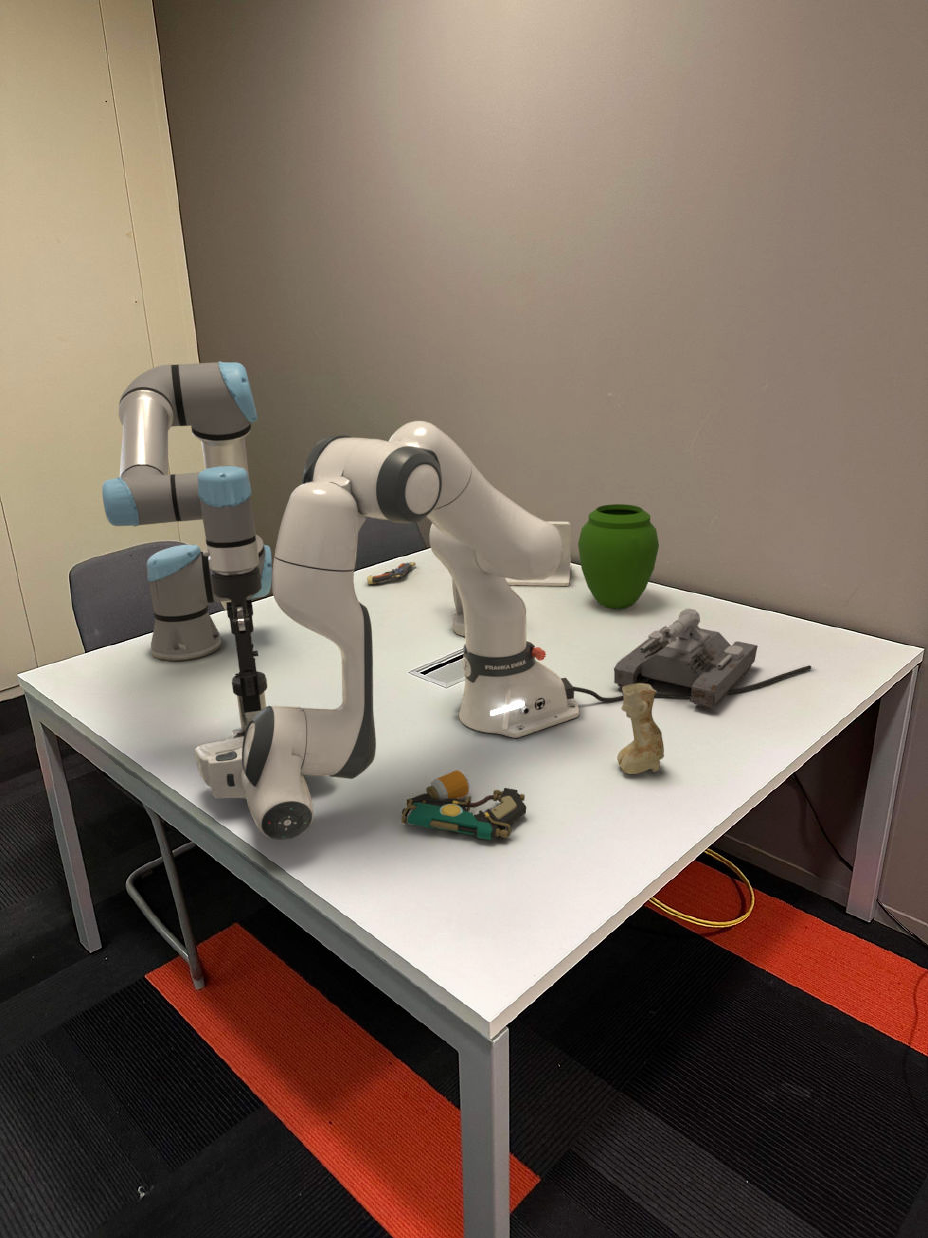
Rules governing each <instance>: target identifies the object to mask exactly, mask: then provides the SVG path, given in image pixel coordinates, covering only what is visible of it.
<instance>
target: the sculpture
mask: <svg viewBox="0 0 928 1238" xmlns="http://www.w3.org/2000/svg"><path fill="white" fill-rule="evenodd" d="M621 690H622V693H623V695H624V700H622V701H623V702H622V705H621V709H620V710H621V711H623V712H625V714H626V717H627V718H628V719H630V722H631V727H632V734H633V740H632V741H631V742H630V743H628V744H627V745H626V746H624V747H623V748H622V749H620V750H619V751H618V753H617V757H616V760H617V764H618V766H620V769H621V771H622V772H624V773H626V774H627V775H638V774H641V773H644V772H646V771H648V770H651V771H652V772H654V773H656V772H659V771H660V769H661V762H660V761H661V760H663V758H664V757H665V754H664V753H665V747H664V746H665V745H664V741H663V734H662V730H661V728H660V727H659V726H658V724H657V723H656V722H655V720H654V718H653V717H654V716H653V706H654V702H655V697H656V696H655V694H656V692H657V690H656V689H654V688H653V687H652V685H651V684H650V683H637V684H630V685H626V686H623V687H621Z"/></svg>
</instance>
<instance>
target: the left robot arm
mask: <svg viewBox="0 0 928 1238" xmlns="http://www.w3.org/2000/svg"><path fill="white" fill-rule="evenodd" d="M255 405H256V404H255V401H254V397H253V392H252V388H251V384H250V380H249V377H248V372H247V369H246V367H245V366H244V365H243V364H242V363H240V362H234V361H233V362H232V361H231V362H228V361H227V362H226V361H225V362H223V361H217V362H199V363H198V362H197V363H179V364H162V365H158V366H155V367H153V368H150V369H148V370H146V371H144V372H142V373H141V374H140V375H138V376H136V378H134V379H133V380H132V381H131V382H130V383H129V385H127V387H126V388H125V389H124V391H123V392H122V395H120V400H119V402H118V418H119V421H120V423H121V425H122V439H121V452H120V465H119V476H118V477H116V478H109V479H106V480H104V482H103V483H102V487H101V488H102V489H101V492H102V502H103V508H104V513H105V517H106V519H107V522H108V524H110V525H111V526H114V527H139V526H146V525H155V524H165V523H166V524H167V523H176V522H178V523H179V522H191V521H200V520H201V521H202V525H203V531H204V534H205V535H204V536H205V545H206V549H204V550H203V551H201V548H200V547H199V545H197V544H180V545H175V546H171V547H167V548H165V549H162V550H159V551H157V552H155V553H154V554H152V555H151V556H149V558H148V559H147V561H146V572H147V578H146V579H147V582H148V584H149V589H150V596H151V603H152V609H153V615H154V626H153V631H152V636H151V642H150V650H151V654H152V656H153V657H154V658H156V659H158V660H162V661H169V662H181V661H190V660H195V659H200V658H203V657H206V656H208V655H211V654H213V653H215V652H216V651H218V650H219V649H220V648H221V646H222V638H221V637H222V636H221V634H220V632H219V630H218V628H217V626H216V624H215V622H214V621H213V619H212V616H211V615H210V612H209V604H213V603H221V602H226V614H227V618H228V619H229V625H230V632H231V634H232V635H233V636H234V641H235V649H236V656H237V664H238V670H239V671H238V672H237V673H234V676H235V678H238V677H240V684H241V692H242V700H243V707H244V713H247V712H254V711H261V703H260V695H259V687H258V679H257V671H258V670H257V664H256V657H259V651H258V650H254V644H253V638H252V633H254V631H255V630H254V629H255V628H254V622H253V615H254V608H253V599H256V598H264V597H266V596H267V595H268V594H269V593H270V592H271V590H272V571H273V562H272V561H273V559H272V549H271V547H270V546H269V545H266V544H264V541H263V539H262V538H261V536H259V535H258V534H256V527H255V520H254V519H255V518H254V508H253V501H252V499H253V498H252V488H251V483H250V473H249V465H248V455H247V448H246V447H247V446H246V437H247V436H248V435H249V434H250V433H251V431H252V424H253V423H255V422H258V414H257V410H256V406H255ZM172 427H191V433H192V435H193V437H195V438H196V439H198V440H199V441H200V442H201V449H202V454H203V463H204V469H202V470H201V471H200V472H199V471H198V472H186V473H185V472H184V473H172V474H169V430H170V429H171V428H172Z"/></svg>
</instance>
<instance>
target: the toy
mask: <svg viewBox="0 0 928 1238" xmlns="http://www.w3.org/2000/svg"><path fill="white" fill-rule="evenodd" d="M700 623H701V616H700V613H699V612H698V611H697V610H696V609H694V608H688V607H687V608H684V609H683V610H682V611H680V612H679V615H678V618H677V619H676V620H675V621H674V622H673V623H672V624H670V625H669V626H668V625H665V626H663V627H661V628H660V629H658V630H654V631H652V632H651V633H650V634H649V635H648V638H647V639H646V640H645V641H643V642H642V643H641V644H639V645H638V646H637V647H635V648H634V649H633V650H632V651H630V652H629V653H628V654H626V655H625V656H624V657H622V658H621V659H620V660H619V661H617V663H616V664H615V666H614V667H613V684H617V686H618V687H619V688H622V687H623V686H626V685H630V684H637V683H645V684H647V682H648V681H649V680H650V679H652V680H655V681H660V682H664V683H668V684H671V685H672V684H673V685H677V686H680V687H685V688H689V689H691V692H690V693H691V697H690V703H693V704H695V705H699V706H702V707H707V708H710V709H715V707H716V706H718V704H719V703H721V701H722V700H724V698H725V697H726V696H727V695H729V694H728V691H729V690H731V689H734V688H735V686H736V685H737V684H738V683H739V682H740V681H742V679H743V678H744V677H745V676H746V675H747V674H748V673H749V671H750V670H751V668H752V665H753V664H754V663H755V661H756V656H757V651H758V645H757V644H752V643H748V642H743V641H734V643H732V644H731V643H730V642H728V640H727V639H726V637H724V636H723V634H721V633H720V632H719V631H716V630H710V629H706V628H700V626H699V624H700Z"/></svg>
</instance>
